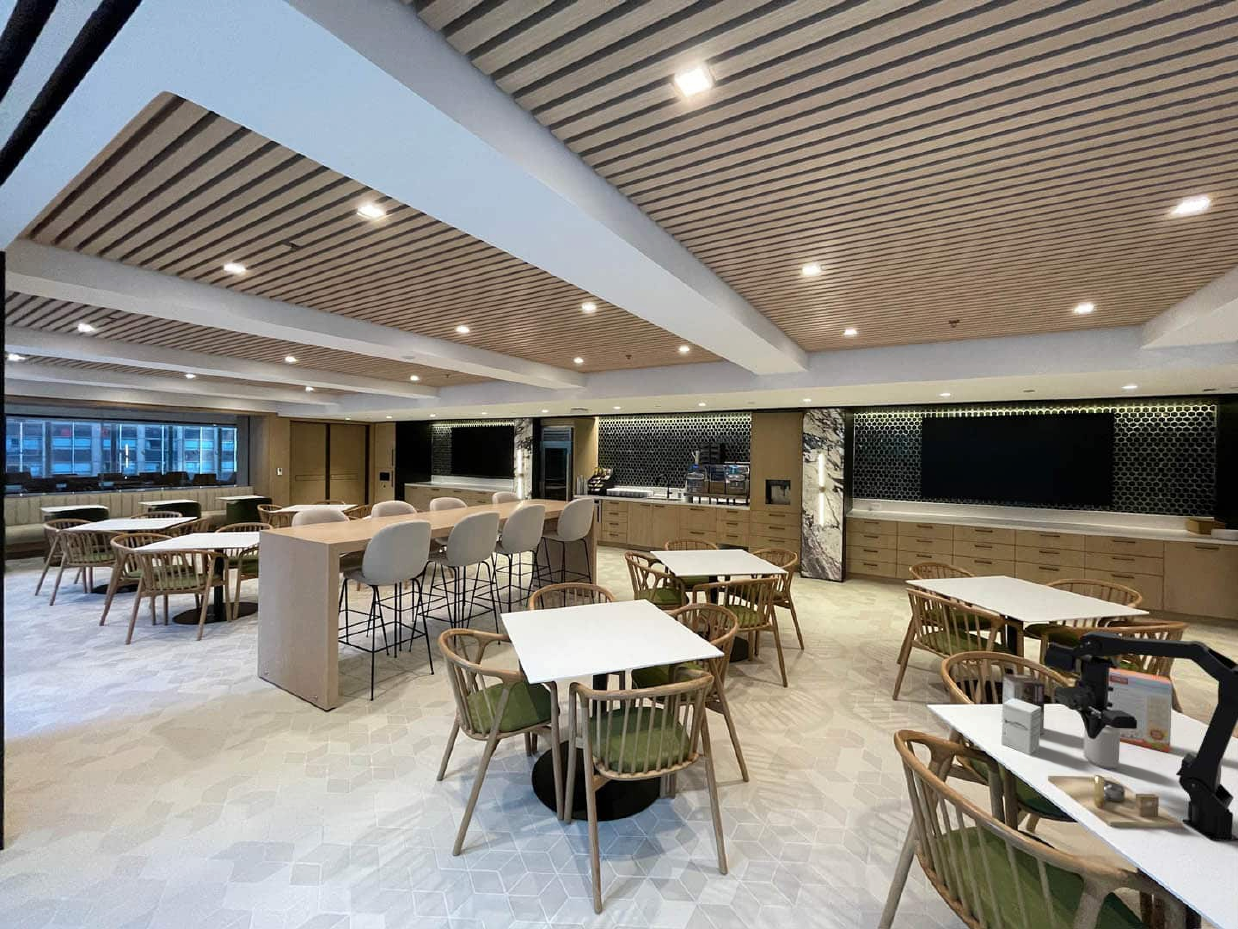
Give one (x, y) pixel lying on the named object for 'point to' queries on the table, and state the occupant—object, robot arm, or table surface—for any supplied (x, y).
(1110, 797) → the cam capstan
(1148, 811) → the stand
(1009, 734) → the supplement box
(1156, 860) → the table surface
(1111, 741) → the can
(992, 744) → the table surface
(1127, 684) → the cracker box
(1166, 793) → the table surface
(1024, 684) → the coffee box
